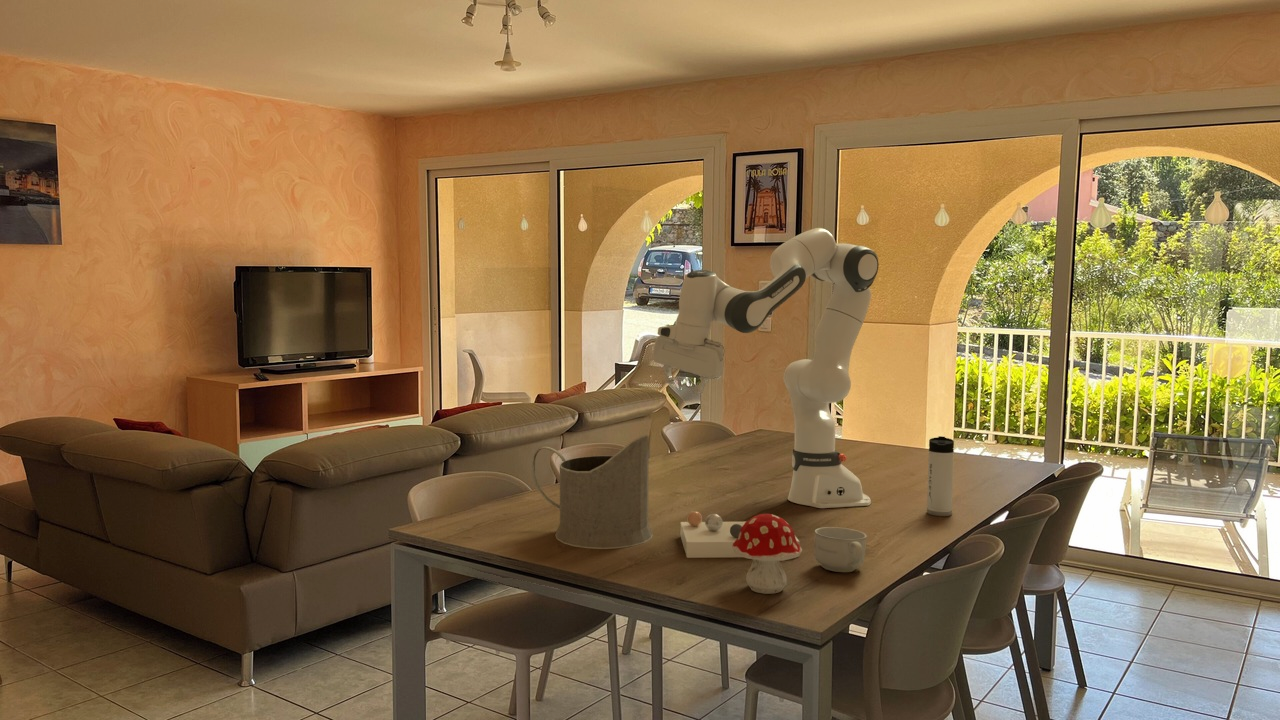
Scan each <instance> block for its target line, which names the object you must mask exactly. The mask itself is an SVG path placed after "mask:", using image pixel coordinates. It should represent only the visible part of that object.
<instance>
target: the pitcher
mask: <svg viewBox="0 0 1280 720" xmlns="http://www.w3.org/2000/svg"><path fill="white" fill-rule="evenodd" d="M649 438H650V436H649V435H648V434H643V435H641V436H638V437H636V438H635V439H633V440H630V442H629V443H627V444H626V445H625V446H624V447H622V448H621V449H620V450H619V451H618V452H616V453H615V454H614V455H591V456H579V457H574V458H569V459H566V458H565V456H564V455H563V454H562V453H561V452H560V451H558V450H557V449H555V448H552V447H550V446H542V447H538V448H537V449H536V450H535V451H534V453H533V456H532V461H531V472H532V473H531V474H532V481H533V483H534V486H535V487H536V489H537V490H538V492H539V493H540V495H541V496H542V497H543V498H544V500H546V501H547V502H548V503H550V504H551V505H552V506H554V507H555V508H557V509H559V524H558V528H557V530H556V533H555V534H554V535H555V538H556V540H558V541H559V542H561V543H562V544H565V545H568V546H571V547H575V548H583V549H595V550H596V549H598V550H609V549H623V548H624V549H625V548H630V547H635V546H638V545H642V544H644V543H646V542H649V541H650V540H652V537H653V535H654V534H653V531H652V528H651V526H650V524H649V467H650V465H649V462H650V461H649V458H650V457H649V455H650V454H649V449H650V448H649V447H650V446H649V443H650V441H649ZM541 450H548V451H551V452H553V453H555V454H556V455H557V456H558V457H559V458H560V459H561V461H562V462H561V463H559V504H558V503H556V502H555V501H553V500H552V499H551V498H550V497H548V495H546V493H545V492H544V491H543V489H542V488H541V487H540V485H539V483H538V480H537V475H536V473H537V472H536V458H537V455H538V453H539V452H540V451H541Z"/></svg>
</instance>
